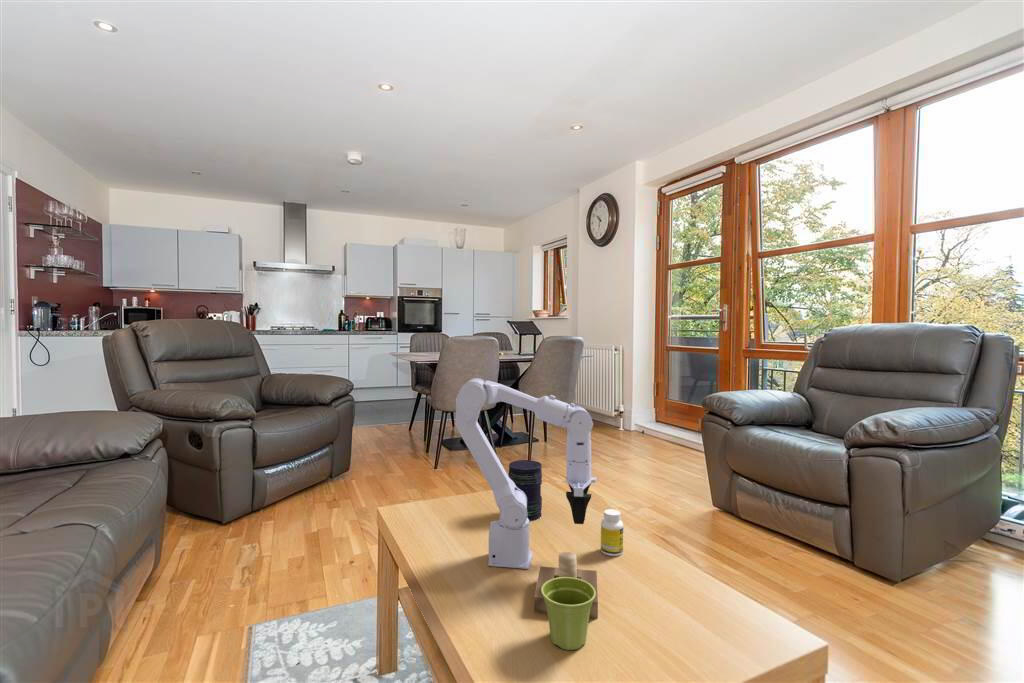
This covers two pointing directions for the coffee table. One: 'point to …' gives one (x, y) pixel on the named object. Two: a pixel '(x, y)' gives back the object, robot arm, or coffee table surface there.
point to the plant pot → (568, 610)
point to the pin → (567, 565)
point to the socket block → (553, 572)
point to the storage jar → (528, 484)
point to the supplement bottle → (612, 533)
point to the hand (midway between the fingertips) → (579, 516)
